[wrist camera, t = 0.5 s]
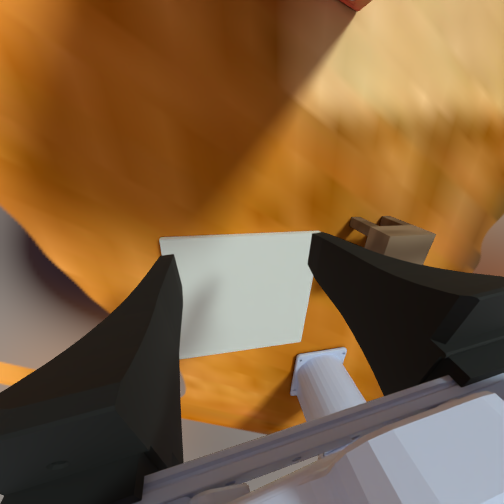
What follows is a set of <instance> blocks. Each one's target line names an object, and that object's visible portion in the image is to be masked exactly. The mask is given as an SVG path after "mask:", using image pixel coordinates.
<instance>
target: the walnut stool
mask: <svg viewBox="0 0 504 504" xmlns="http://www.w3.org/2000/svg"><path fill="white" fill-rule="evenodd" d="M380 225H381V226H378V225H376V224H374V223H372V222H369V221H367V220H365V219H363V218H361V217H352V218H351V222H350V227H352V228H354V229H356V230H357V231H359V232H361V233H363V234H364V235H366V236H368V237H367V240H366V244H365V247H364V248H366V249H368V250H371V251H374V252H377V253H380V254H383V255H386V256H389V257H393V258H396V259H400V260H403V261H407V262H411V263H415V264H420V265H423V263H424V261H425V258H426V256H427V254H428V252H429V249H430V247H431V245H432V242H433V240H434V238H435V236H436V234H434V233H432V232H429V231H427V230H424V229H421V228H419V227H416V226H414V225H411V224H409V223H406V222H404V221H401V220H399V219H396V218H393V217H391V216H382V218H381V222H380Z"/></svg>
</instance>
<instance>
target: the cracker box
mask: <svg viewBox="0 0 504 504" xmlns="http://www.w3.org/2000/svg"><path fill="white" fill-rule="evenodd" d="M340 1H341V2H343V3H344V4H346V5H347V6H349V7H351V8H352V9H354V10H355V11H360V10H361V9H362V8H363V7H365V6H366V5H367V4H368V3H369V2H371V1H372V0H340Z"/></svg>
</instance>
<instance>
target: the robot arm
mask: <svg viewBox="0 0 504 504" xmlns="http://www.w3.org/2000/svg"><path fill="white" fill-rule="evenodd" d="M308 266H309V268H310V270H311V272H312V274H313V276H314V278H315V279H316V281H317V282H318V283H319V285H320V286H321V287H322V289H323V290H324V292H325V293H326V294H327V296H328V297H329V298H330V299H331V301H332V302H333V303H334V305H335V306H336V307H337V309H338V310H339V312H340V313H341V315H342V316H343V318H344V319H345V321H346V323H347V324H348V326H349V328H350V329H351V331H352V333H353V334H354V336H355V338H356V340H357V342H358V344H359V345H360V347H361V349H362V351H363V353H364V355H365V357H366V359H367V361H368V363H369V365H370V367H371V369H372V371H373V373H374V375H375V377H376V379H377V381H378V384H379V386H380V388H381V390H382V392H383V395H384V397H381V398H378V399H375V400H372V401H369V402H366V401H365V399H364V398H363V396H362V394H361V393H360V391H359V390H358V388H357V386H356V385H355V383H354V382H353V380H352V379H351V377H350V375H349V374H348V372H347V371H346V369H345V367H344V366H343V361H344V358H345V355H346V352H347V349H346V348H345V347H341V348H335V349H329V350H322V351H316V352H309V353H303V354H299V355H297V357H296V363H295V368H294V374H293V379H292V385H291V390H290V394H291V396H295V395H297V397H298V400H299V403H300V405H301V408H302V411H303V413H304V416H305V419H306V421H307V422H305V423H302V424H299V425H296V426H293V427H290V428H287V429H284V430H281V431H278V432H275V433H272V434H269V435H266V436H263V437H260V438H257V439H254V440H251V441H248V442H245V443H242V444H239V445H236V446H233V447H230V448H227V449H224V450H222V451H218V452H215V453H212V454H209V455H206V456H203V457H200V458H197V459H194V460H191V461H188V462H185V463H183V447H182V446H183V445H182V428H181V404H180V371H179V349H180V336H181V324H182V312H183V290H182V283H181V279H180V275H179V272H178V268H177V264H176V260H175V256H174V254H170V255H163V256H160V257H159V258H158V260H157V261H156V262H155V264H154V265H153V266H152V268H151V269H150V271H149V272H148V273H147V275H146V276H145V277H144V278H143V280H142V281H141V282H140V283H139V285H138V286H137V287H136V288H135V289H134V290H133V292H132V293H131V294H130V295H129V296H128V297H127V298H126V299H125V300H124V301H123V302H122V303H121V304H120V306H118V307H117V308H116V309H115V310H114V311H113V312H112V313H111V314H110V315H109V316H108V317H107V318H106V319H105V320H103V321H102V322H101V323H100V324H98V325H97V326H96V327H95V328H94V329H92V330H91V331H90V332H89V333H87V334H86V335H85V336H84V337H83V338H81V339H80V340H79V341H77V342H76V343H75V344H73V345H72V346H71V347H69V348H68V349H66V350H65V351H64V352H62V353H61V354H59V355H58V356H56V357H55V358H54V359H52V360H51V361H49V362H48V363H46V364H45V365H43V366H42V367H40V368H39V369H37V370H36V371H34V372H32V373H31V374H29V375H28V376H26V377H25V378H23V379H21V380H20V381H18V382H17V383H15V384H14V385H12V386H10V387H9V388H7V389H6V390H4V391H2V392H1V393H0V494H1V495H4V498H3V500H2V502H1V504H504V277H501V276H492V275H483V274H474V273H465V272H458V271H452V270H445V269H440V268H434V267H429V266H425V265H420V264H415V263H411V262H407V261H403V260H400V259H396V258H393V257H389V256H386V255H383V254H380V253H377V252H374V251H371V250H368V249H366V248H363V247H361V246H358V245H355V244H353V243H350V242H348V241H345V240H343V239H340V238H338V237H335V236H333V235H330V234H327V233H324V232H320V233H313V234H312V237H311V244H310V250H309V257H308ZM317 455H318V456H319V457H318V460H317V461H315V462H313V463H311V464H309V465H307V466H305V467H303V468H300V469H298V470H296V471H294V472H292V473H290V474H288V475H286V476H284V477H282V478H279V479H277V480H275V481H273V482H271V483H269V484H267V485H264V486H262V487H260V488H258V489H256V490H254V491H252V492H250V490H249V486H248V485H247V484H246V483H244V482H247V481H249V480H252V479H255V478H257V477H260V476H263V475H266V474H268V473H271V472H274V471H276V470H279V469H282V468H284V467H287V466H290V465H292V464H296V463H298V462H301V461H304V460H306V459H309V458H311V457H314V456H317ZM241 483H243V484H241Z"/></svg>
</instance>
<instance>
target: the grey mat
mask: <svg viewBox="0 0 504 504" xmlns="http://www.w3.org/2000/svg"><path fill="white" fill-rule="evenodd" d="M313 233H320V231H300V232H275V233H251V234H227V235H202V236H178V237H160V239H159V242H160V248H161V254H162V256H163V255H170V254H174V256H175V260H176V264H177V268H178V272H179V275H180V279H181V283H182V290H183V312H182V324H181V336H180V349H179V359H186V358H192V357H199V356H206V355H213V354H220V353H227V352H234V351H240V350H247V349H254V348H261V347H268V346H275V345H282V344H288V343H295V342H301V338H302V333H303V327H304V322H305V317H306V311H307V306H308V301H309V295H310V290H311V285H312V280H313V274H312V272H311V270H310V268H309V266H308V257H309V250H310V244H311V237H312V234H313Z"/></svg>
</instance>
